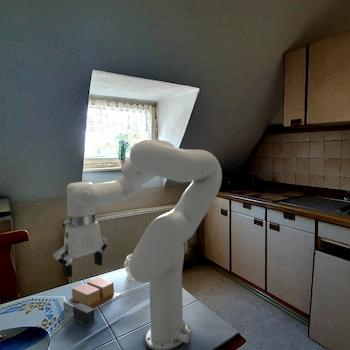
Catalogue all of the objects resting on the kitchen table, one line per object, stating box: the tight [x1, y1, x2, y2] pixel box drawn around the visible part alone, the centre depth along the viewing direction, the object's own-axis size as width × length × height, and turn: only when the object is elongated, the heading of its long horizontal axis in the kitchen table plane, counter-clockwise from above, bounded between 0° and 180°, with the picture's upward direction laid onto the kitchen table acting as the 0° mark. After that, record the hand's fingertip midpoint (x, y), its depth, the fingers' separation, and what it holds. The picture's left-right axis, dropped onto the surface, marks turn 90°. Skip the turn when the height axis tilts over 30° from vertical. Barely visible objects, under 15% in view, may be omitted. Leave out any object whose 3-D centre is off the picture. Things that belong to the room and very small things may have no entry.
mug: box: [124, 253, 138, 282], centre depth 118 cm, size 9×12×11 cm
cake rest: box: [86, 276, 115, 299], centre depth 103 cm, size 10×4×4 cm, turn 63°
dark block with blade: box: [62, 300, 95, 326], centre depth 89 cm, size 16×2×5 cm, turn 63°
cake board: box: [68, 291, 121, 310], centre depth 101 cm, size 14×12×1 cm
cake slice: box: [71, 282, 100, 306], centre depth 98 cm, size 10×4×4 cm, turn 63°
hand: (84, 270), depth 86 cm, fingers open, 9 cm apart
